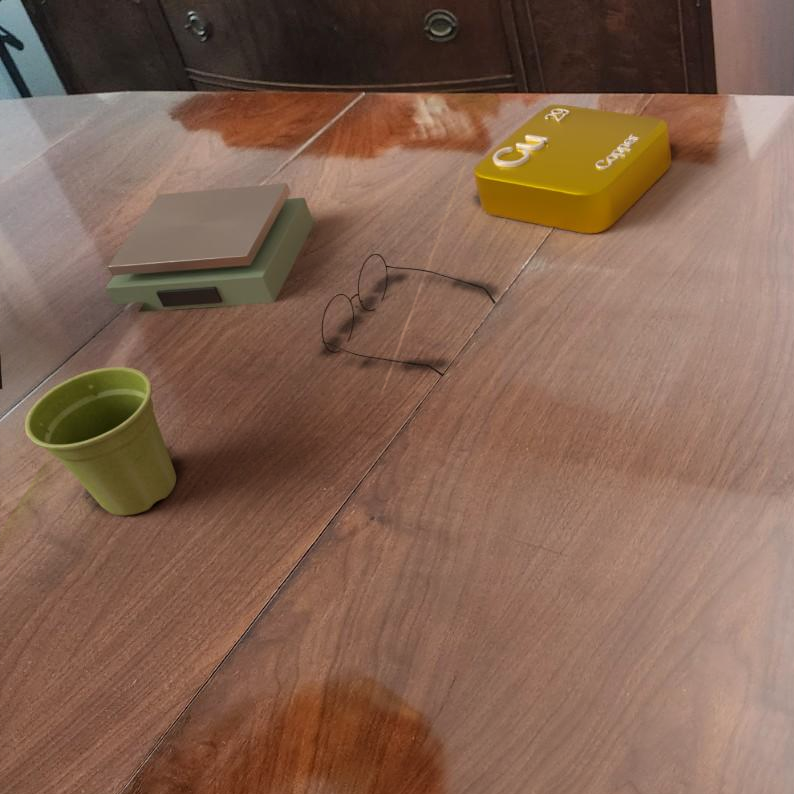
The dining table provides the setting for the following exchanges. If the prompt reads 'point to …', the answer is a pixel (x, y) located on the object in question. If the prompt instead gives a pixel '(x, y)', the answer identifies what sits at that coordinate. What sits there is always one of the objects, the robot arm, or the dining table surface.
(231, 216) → the weighing pan
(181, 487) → the dining table surface
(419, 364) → the eyeglasses
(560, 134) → the element tile
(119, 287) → the scale
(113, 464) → the plant pot
